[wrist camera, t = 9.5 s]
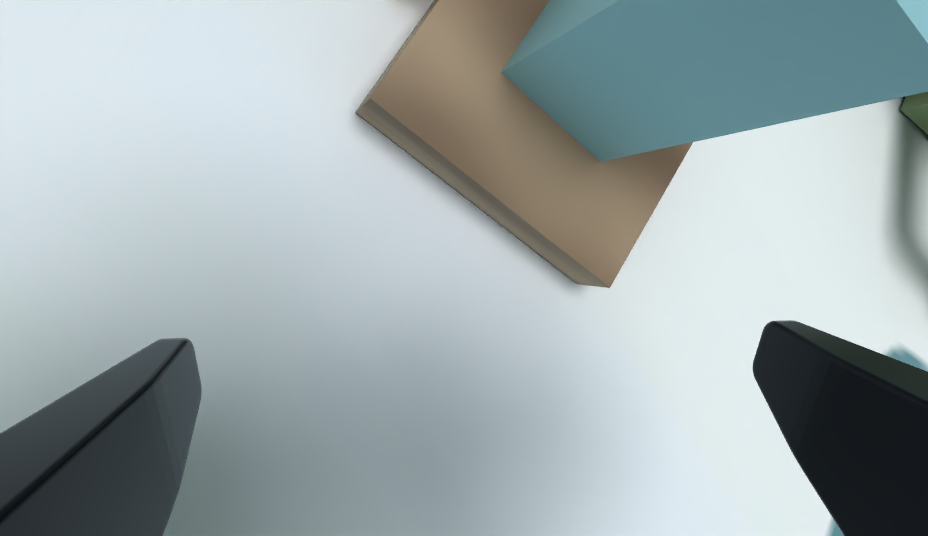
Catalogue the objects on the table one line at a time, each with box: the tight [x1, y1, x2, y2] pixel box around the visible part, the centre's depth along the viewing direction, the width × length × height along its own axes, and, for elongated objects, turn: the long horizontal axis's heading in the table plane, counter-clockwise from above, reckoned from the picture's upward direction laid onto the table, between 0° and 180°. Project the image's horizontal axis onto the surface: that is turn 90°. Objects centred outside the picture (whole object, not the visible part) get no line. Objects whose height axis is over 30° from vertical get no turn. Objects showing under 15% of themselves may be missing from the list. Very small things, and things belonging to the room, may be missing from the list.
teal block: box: [501, 0, 928, 162], centre depth 15 cm, size 4×4×10 cm
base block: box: [356, 0, 693, 288], centre depth 20 cm, size 10×10×2 cm
